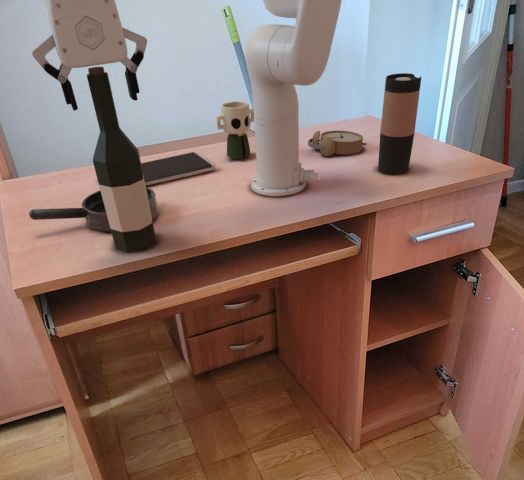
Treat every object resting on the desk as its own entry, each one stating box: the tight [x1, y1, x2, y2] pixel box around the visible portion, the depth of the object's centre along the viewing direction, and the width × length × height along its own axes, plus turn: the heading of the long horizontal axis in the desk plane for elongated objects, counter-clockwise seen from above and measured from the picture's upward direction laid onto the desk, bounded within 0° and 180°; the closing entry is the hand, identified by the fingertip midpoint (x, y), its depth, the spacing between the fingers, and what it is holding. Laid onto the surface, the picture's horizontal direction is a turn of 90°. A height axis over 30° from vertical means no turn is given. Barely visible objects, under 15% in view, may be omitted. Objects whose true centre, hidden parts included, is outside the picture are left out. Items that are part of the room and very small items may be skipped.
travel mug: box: [377, 72, 422, 176], centre depth 114 cm, size 8×8×20 cm
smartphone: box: [141, 151, 216, 187], centre depth 125 cm, size 13×27×2 cm, turn 118°
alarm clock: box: [307, 130, 368, 157], centre depth 132 cm, size 11×5×15 cm
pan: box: [81, 186, 159, 233], centre depth 105 cm, size 15×15×4 cm
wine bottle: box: [86, 66, 157, 253], centre depth 88 cm, size 8×8×30 cm
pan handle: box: [28, 207, 85, 221], centre depth 101 cm, size 11×2×4 cm, turn 113°
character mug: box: [216, 100, 254, 160], centre depth 129 cm, size 11×7×13 cm, turn 122°
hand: (104, 103), depth 82 cm, fingers open, 9 cm apart
